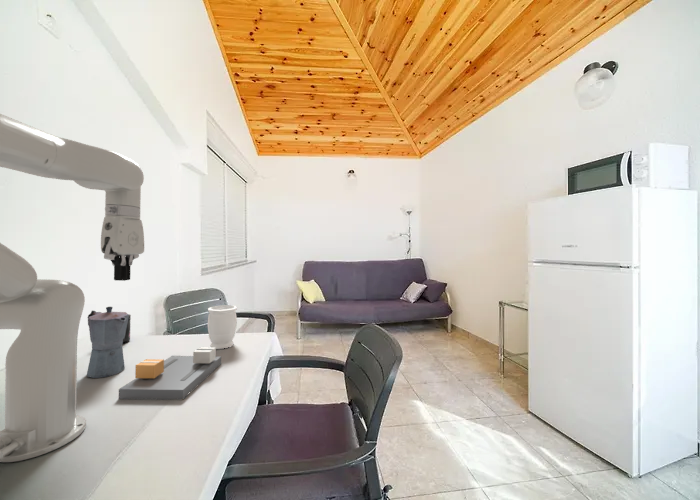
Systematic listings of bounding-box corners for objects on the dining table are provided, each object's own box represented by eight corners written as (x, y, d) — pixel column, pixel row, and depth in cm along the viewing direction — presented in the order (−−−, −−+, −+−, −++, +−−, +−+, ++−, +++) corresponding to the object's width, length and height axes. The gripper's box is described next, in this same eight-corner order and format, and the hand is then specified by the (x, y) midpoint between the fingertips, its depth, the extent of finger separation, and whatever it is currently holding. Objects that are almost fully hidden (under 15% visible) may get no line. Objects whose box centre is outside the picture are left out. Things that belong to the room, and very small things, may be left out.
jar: (242, 344, 111) (242, 307, 111) (217, 352, 103) (218, 311, 103) (225, 339, 117) (226, 303, 117) (201, 346, 108) (202, 307, 108)
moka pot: (108, 382, 79) (109, 311, 79) (66, 376, 82) (67, 307, 82) (140, 368, 89) (141, 304, 88) (101, 363, 92) (102, 301, 92)
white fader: (209, 363, 86) (209, 351, 86) (193, 363, 86) (193, 351, 86) (215, 358, 90) (215, 347, 90) (199, 358, 90) (200, 346, 90)
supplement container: (131, 343, 111) (131, 316, 111) (108, 346, 106) (108, 319, 106) (129, 338, 116) (130, 313, 116) (108, 342, 111) (108, 315, 111)
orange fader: (154, 378, 76) (154, 365, 76) (135, 378, 76) (135, 364, 76) (163, 371, 80) (163, 359, 80) (145, 371, 80) (146, 358, 80)
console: (182, 399, 71) (183, 389, 71) (118, 399, 71) (118, 388, 71) (221, 363, 93) (221, 356, 93) (172, 363, 93) (172, 355, 93)
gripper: (114, 210, 70) (113, 283, 70) (155, 216, 85) (154, 277, 85) (84, 209, 70) (83, 283, 70) (130, 216, 85) (129, 277, 85)
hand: (122, 279), depth 78 cm, fingers closed
